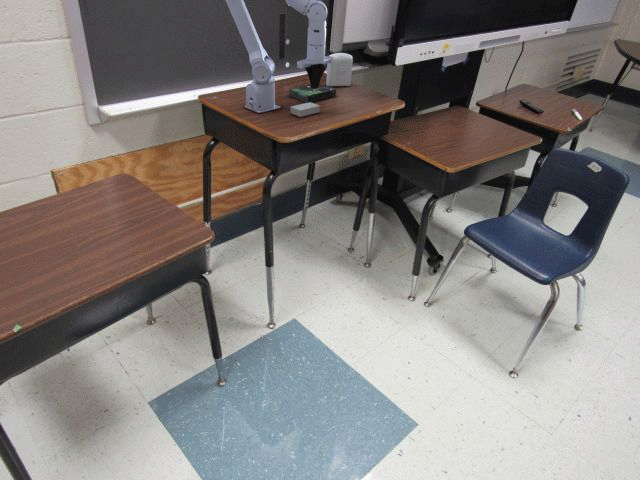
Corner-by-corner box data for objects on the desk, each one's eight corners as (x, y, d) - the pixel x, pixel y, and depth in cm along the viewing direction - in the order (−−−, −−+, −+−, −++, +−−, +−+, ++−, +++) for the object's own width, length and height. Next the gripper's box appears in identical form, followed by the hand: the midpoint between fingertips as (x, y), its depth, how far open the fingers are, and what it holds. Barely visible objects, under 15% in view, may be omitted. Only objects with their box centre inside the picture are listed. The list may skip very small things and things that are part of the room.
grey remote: (319, 112, 153) (300, 117, 147) (309, 109, 156) (290, 113, 150) (320, 105, 152) (300, 110, 146) (310, 102, 154) (290, 106, 149)
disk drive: (316, 90, 176) (288, 96, 167) (317, 82, 174) (288, 88, 165) (336, 96, 170) (307, 103, 161) (336, 89, 168) (308, 95, 159)
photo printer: (348, 83, 186) (350, 51, 179) (352, 86, 182) (354, 54, 176) (324, 84, 183) (326, 52, 176) (328, 87, 179) (330, 54, 172)
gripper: (308, 49, 136) (307, 94, 143) (341, 44, 144) (338, 87, 152) (292, 45, 140) (292, 89, 147) (325, 40, 148) (323, 82, 156)
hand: (314, 88), depth 150 cm, fingers closed
